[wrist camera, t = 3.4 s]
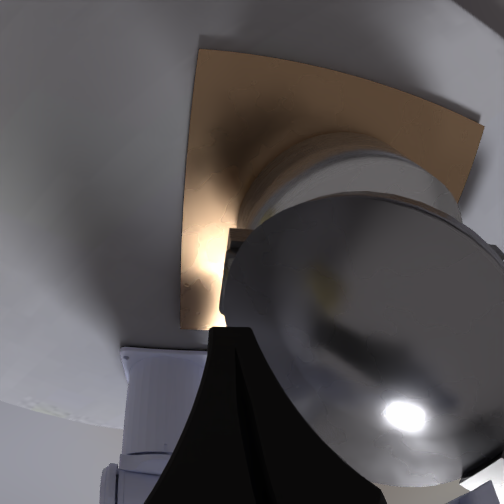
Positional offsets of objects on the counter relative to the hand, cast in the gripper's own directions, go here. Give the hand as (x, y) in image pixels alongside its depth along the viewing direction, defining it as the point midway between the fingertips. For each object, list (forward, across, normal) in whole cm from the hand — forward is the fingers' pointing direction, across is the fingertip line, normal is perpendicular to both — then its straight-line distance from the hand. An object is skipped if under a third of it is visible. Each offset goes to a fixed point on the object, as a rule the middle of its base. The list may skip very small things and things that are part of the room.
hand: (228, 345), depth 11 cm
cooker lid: (-2, -6, 0) cm, 6 cm away
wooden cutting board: (+9, -7, 0) cm, 12 cm away
